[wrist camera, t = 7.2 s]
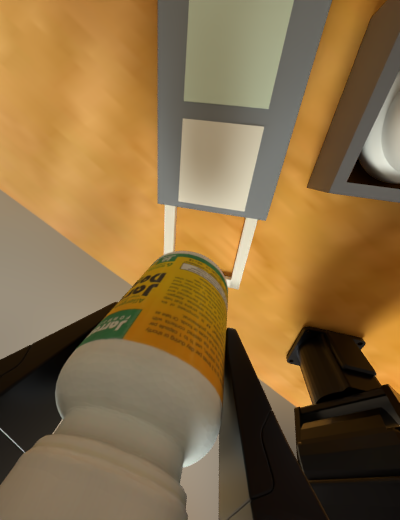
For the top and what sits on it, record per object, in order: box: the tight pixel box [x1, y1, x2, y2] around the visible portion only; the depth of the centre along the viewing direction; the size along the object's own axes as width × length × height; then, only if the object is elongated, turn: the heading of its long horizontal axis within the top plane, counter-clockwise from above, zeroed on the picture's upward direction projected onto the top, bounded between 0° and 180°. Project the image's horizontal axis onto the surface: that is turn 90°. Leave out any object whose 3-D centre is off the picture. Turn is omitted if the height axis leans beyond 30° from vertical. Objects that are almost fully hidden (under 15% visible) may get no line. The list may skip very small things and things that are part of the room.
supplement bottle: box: [0, 251, 228, 520], centre depth 7 cm, size 5×5×10 cm
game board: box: [158, 0, 332, 289], centre depth 14 cm, size 22×10×1 cm, turn 173°
